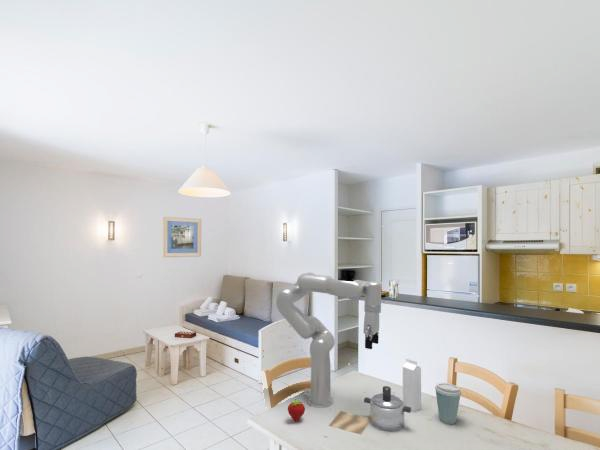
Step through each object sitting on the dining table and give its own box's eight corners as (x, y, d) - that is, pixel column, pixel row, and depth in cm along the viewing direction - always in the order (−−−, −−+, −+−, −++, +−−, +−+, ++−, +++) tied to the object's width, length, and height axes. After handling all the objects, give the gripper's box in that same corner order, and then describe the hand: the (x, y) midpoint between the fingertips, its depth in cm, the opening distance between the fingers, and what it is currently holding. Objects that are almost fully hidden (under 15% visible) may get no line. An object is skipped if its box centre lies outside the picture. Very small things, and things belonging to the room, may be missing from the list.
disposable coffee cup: (434, 412, 154) (434, 379, 155) (460, 416, 151) (460, 382, 152) (435, 424, 144) (435, 388, 145) (463, 429, 141) (462, 392, 142)
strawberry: (305, 425, 143) (305, 401, 143) (287, 425, 142) (287, 401, 143) (304, 418, 148) (304, 394, 149) (287, 418, 148) (287, 394, 149)
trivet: (328, 426, 142) (328, 425, 142) (340, 412, 154) (340, 410, 154) (361, 435, 135) (361, 434, 135) (371, 419, 147) (370, 418, 147)
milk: (413, 412, 154) (413, 363, 156) (402, 407, 159) (402, 359, 160) (421, 408, 158) (421, 360, 159) (410, 403, 163) (410, 357, 164)
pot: (359, 425, 143) (359, 403, 143) (369, 411, 155) (369, 391, 155) (407, 438, 133) (407, 415, 134) (413, 422, 146) (413, 400, 146)
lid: (369, 404, 142) (369, 390, 143) (376, 393, 153) (376, 380, 153) (398, 411, 137) (398, 396, 137) (403, 399, 147) (403, 385, 148)
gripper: (370, 304, 167) (369, 339, 166) (358, 310, 151) (357, 349, 151) (385, 306, 163) (384, 342, 162) (375, 312, 148) (374, 352, 147)
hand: (371, 345), depth 156 cm, fingers open, 9 cm apart
